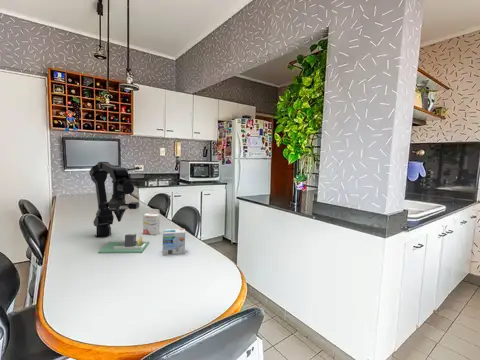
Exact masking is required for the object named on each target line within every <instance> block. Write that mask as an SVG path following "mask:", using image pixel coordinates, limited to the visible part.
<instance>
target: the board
mask: <svg viewBox="0 0 480 360" xmlns="http://www.w3.org/2000/svg"><path fill="white" fill-rule="evenodd" d="M149 244H150V241H147V240H143V236H140V237H138V239H136V245H135V246H131V247H124V246H125V240H120V241H109V242H108V243H107V244H105V245H104V246H103V247H102V248H100V250H98V251H97V253H98V254H141V253H142V254H143V252H144V251H145V250H146V248H147V247H148V246H149Z"/></svg>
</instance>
